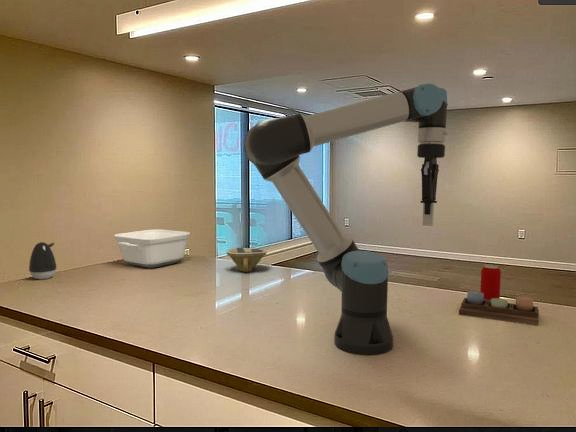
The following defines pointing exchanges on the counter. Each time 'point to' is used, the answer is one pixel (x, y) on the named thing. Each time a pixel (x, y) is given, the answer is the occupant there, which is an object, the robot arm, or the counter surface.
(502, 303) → the sage button
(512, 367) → the counter surface
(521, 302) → the terracotta button
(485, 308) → the panel
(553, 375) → the counter surface
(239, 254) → the bowl
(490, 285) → the beverage can
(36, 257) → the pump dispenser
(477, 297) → the slate button
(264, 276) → the counter surface
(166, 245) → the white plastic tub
